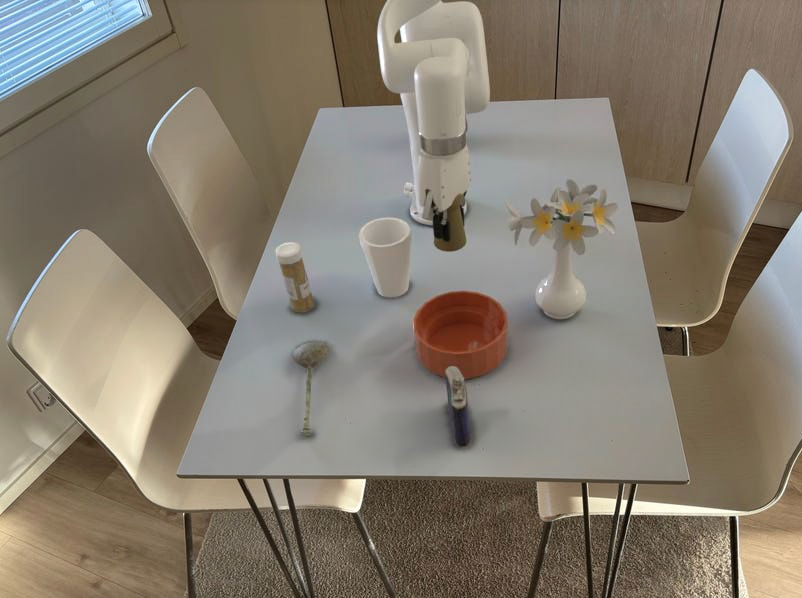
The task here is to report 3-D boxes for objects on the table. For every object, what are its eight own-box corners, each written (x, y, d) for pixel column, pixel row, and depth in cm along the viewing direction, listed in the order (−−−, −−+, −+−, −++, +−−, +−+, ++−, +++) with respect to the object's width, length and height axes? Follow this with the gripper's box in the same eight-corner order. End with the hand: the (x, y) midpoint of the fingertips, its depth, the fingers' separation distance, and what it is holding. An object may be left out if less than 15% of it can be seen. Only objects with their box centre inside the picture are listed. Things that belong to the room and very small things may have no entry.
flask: (446, 404, 113) (442, 358, 106) (464, 401, 113) (461, 355, 106) (455, 448, 107) (451, 402, 99) (474, 445, 107) (471, 399, 99)
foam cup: (423, 276, 138) (417, 221, 128) (406, 306, 131) (399, 250, 122) (379, 269, 140) (370, 214, 131) (361, 297, 134) (350, 242, 125)
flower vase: (501, 294, 132) (500, 177, 115) (596, 283, 133) (609, 165, 115) (513, 340, 123) (514, 221, 105) (615, 328, 124) (633, 207, 106)
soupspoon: (332, 344, 126) (297, 349, 126) (328, 330, 124) (292, 335, 124) (326, 435, 110) (285, 440, 110) (321, 421, 108) (279, 426, 108)
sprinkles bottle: (317, 309, 132) (303, 251, 123) (294, 316, 131) (278, 259, 122) (310, 295, 135) (296, 238, 126) (288, 302, 134) (271, 245, 125)
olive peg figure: (463, 252, 124) (460, 200, 116) (430, 250, 125) (425, 198, 117) (469, 232, 128) (467, 180, 120) (437, 230, 129) (433, 179, 121)
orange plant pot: (399, 360, 121) (394, 333, 117) (448, 308, 130) (446, 280, 126) (477, 394, 114) (476, 366, 110) (523, 336, 124) (524, 308, 119)
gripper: (451, 112, 118) (456, 203, 131) (394, 157, 109) (406, 251, 122) (489, 121, 115) (490, 214, 128) (433, 169, 106) (441, 263, 119)
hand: (449, 231), depth 125 cm, fingers closed on olive peg figure, 4 cm apart
